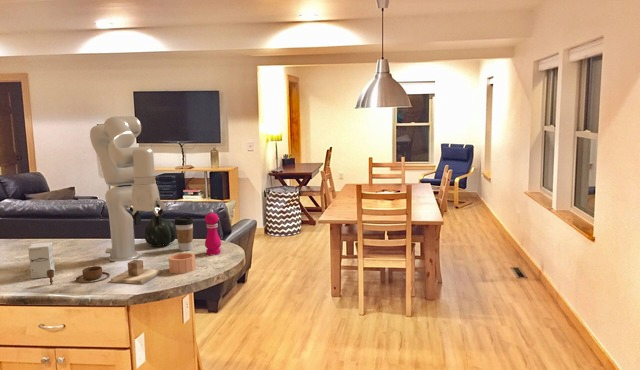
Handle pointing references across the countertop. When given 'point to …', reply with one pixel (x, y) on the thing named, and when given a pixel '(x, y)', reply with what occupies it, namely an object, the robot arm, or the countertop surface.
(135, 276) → the lid
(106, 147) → the robot arm
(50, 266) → the supplement box
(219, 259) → the countertop surface
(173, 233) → the squash
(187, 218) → the coffee cup
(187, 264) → the bowl
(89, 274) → the place setting
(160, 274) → the tray
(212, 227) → the pepper mill
